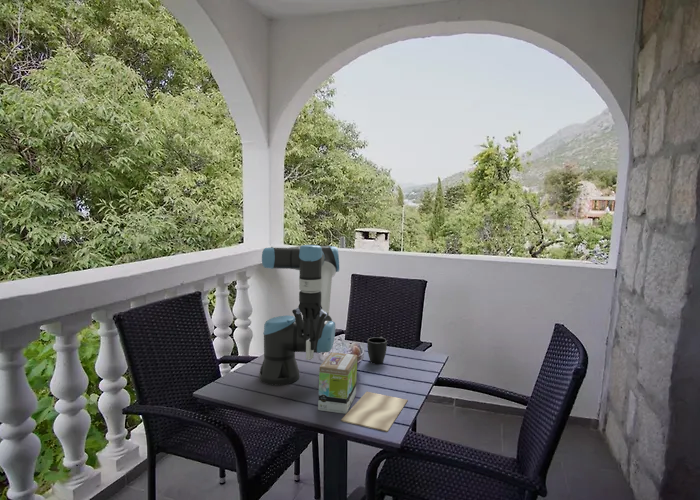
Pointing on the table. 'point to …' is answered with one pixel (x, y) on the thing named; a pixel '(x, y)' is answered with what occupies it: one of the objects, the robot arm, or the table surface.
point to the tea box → (337, 382)
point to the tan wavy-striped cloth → (375, 411)
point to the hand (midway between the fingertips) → (309, 358)
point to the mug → (377, 349)
